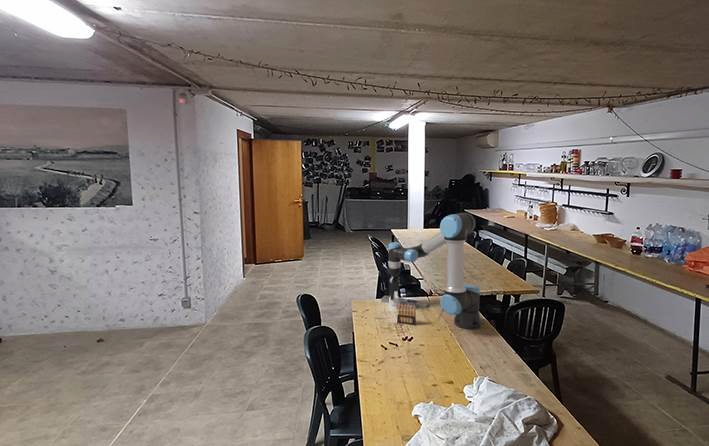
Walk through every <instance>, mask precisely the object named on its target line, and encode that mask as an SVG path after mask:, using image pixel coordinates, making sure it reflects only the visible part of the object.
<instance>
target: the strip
mask: <svg viewBox="0 0 709 446" xmlns="http://www.w3.org/2000/svg"><path fill="white" fill-rule="evenodd" d="M389 298H390V295H383V297H382V298H381V299H380V301H381V303H388V304H389ZM399 303H400V306H401V305H402V303H403V306H405V304H406V307H407V306H408V304H409V307H411V304H412V307H414V305H415V308H421V309H427V308H428V306H429V303H430V302H429V301H425V300H416V299H410V298H405V297H399ZM442 311H443V312H445V311H444V310H443V309H442Z"/></svg>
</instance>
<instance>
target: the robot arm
mask: <svg viewBox="0 0 709 446" xmlns="http://www.w3.org/2000/svg"><path fill="white" fill-rule="evenodd" d="M475 227H476V220H475V217H474V216H473V215H472V214H470V213H468V212H460V213H455V214H449V215H447V216H446V215H445V217H443V219H441V222H440V225H439V232H438V233H436V234H434V235H432V236H431V237H429V238H427V240H425V241H423V242H422V243H420V244H418V245H416V246H415V245H414V246H411V247H402V244H401V243H400V242H397V241H394V242H393V241H392V242H390V243H388V261H387V263H388V274H389V275H390V278H389V279H388V283H389V284H388V296H390V304H391V305H395V296H397V297H399V292H400V274H401V266H402V265H401V264H402V262H401V261H405V262H409V263H416V261H417V260H418V259H421V258H425V257H427V256H429V255H430V254H431V253H432V252H434V251H436V250H437V249H439V248H441V247H442V246H444V245H446V282H447V283H446V286H445V287H444V288H443V293H444V294H443V295H442V296H441V297H440V300H439V304H440V306H441V309H442V311H443V310H444V311H443V312H444V313H446V314H447V315H449V316H454V318H453V323H454V325H455V326H456V327H458V328H461V329H466V330H477V329H480V328H481V327H482V319H481V316H480V310H479V309H480V296H481V293H480V287H479V286H477V285H474V284H468V283H464V253H465V252H464V243H465V242H466V241H467V236H468V235H467V234H469V233H471V232H473V231H474V229H475Z"/></svg>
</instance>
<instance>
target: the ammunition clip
mask: <svg viewBox="0 0 709 446" xmlns="http://www.w3.org/2000/svg"><path fill="white" fill-rule="evenodd" d="M416 316H417V314H416V307H415V305H414V306H412V304H411V306H409V304H408V306H407V305H406V304H405V305H403V303H402V305H400V303H399V305H398V308H397V319H396V320H397V321H396V323H397V324H401V325H402V324H403V325H408V326H416V325H417V317H416Z"/></svg>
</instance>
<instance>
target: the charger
mask: <svg viewBox="0 0 709 446" xmlns="http://www.w3.org/2000/svg"><path fill="white" fill-rule="evenodd" d="M399 298H400V297H399V296H398V297H397V296H395V305H391V304H390V298H389V303H388V309H393V310H398V305H399Z"/></svg>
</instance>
